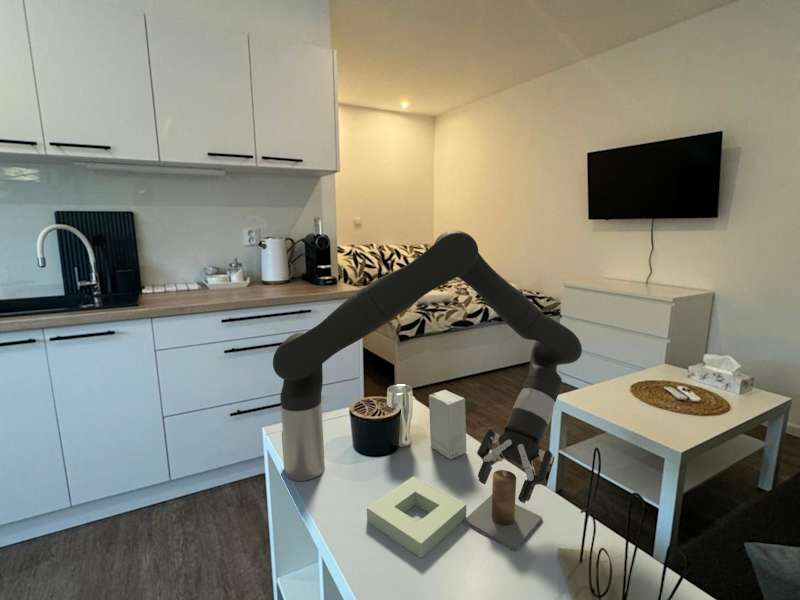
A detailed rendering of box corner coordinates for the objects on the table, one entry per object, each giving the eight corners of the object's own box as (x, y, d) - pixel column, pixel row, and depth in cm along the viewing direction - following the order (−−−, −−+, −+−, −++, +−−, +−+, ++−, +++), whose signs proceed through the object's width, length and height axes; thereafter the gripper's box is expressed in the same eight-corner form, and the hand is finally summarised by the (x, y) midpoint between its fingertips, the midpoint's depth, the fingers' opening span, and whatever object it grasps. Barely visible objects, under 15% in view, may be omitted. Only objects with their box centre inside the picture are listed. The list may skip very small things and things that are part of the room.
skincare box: (466, 453, 107) (467, 398, 104) (448, 461, 104) (449, 404, 101) (445, 439, 114) (446, 388, 111) (428, 446, 111) (428, 393, 108)
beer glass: (383, 445, 111) (382, 392, 109) (393, 433, 118) (392, 382, 115) (408, 450, 109) (407, 395, 106) (416, 437, 115) (416, 385, 113)
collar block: (367, 521, 83) (366, 507, 83) (413, 488, 93) (413, 476, 93) (421, 558, 74) (421, 543, 73) (466, 517, 84) (466, 504, 83)
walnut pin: (487, 518, 83) (488, 477, 81) (498, 507, 86) (500, 467, 84) (507, 529, 80) (509, 486, 78) (518, 517, 83) (520, 476, 81)
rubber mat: (464, 522, 83) (464, 519, 82) (493, 495, 90) (493, 493, 90) (515, 551, 75) (515, 548, 75) (542, 519, 83) (542, 516, 83)
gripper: (493, 398, 89) (462, 470, 83) (560, 418, 80) (529, 502, 73) (505, 413, 94) (476, 482, 88) (569, 434, 84) (541, 514, 78)
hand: (500, 491), depth 81 cm, fingers open, 8 cm apart
